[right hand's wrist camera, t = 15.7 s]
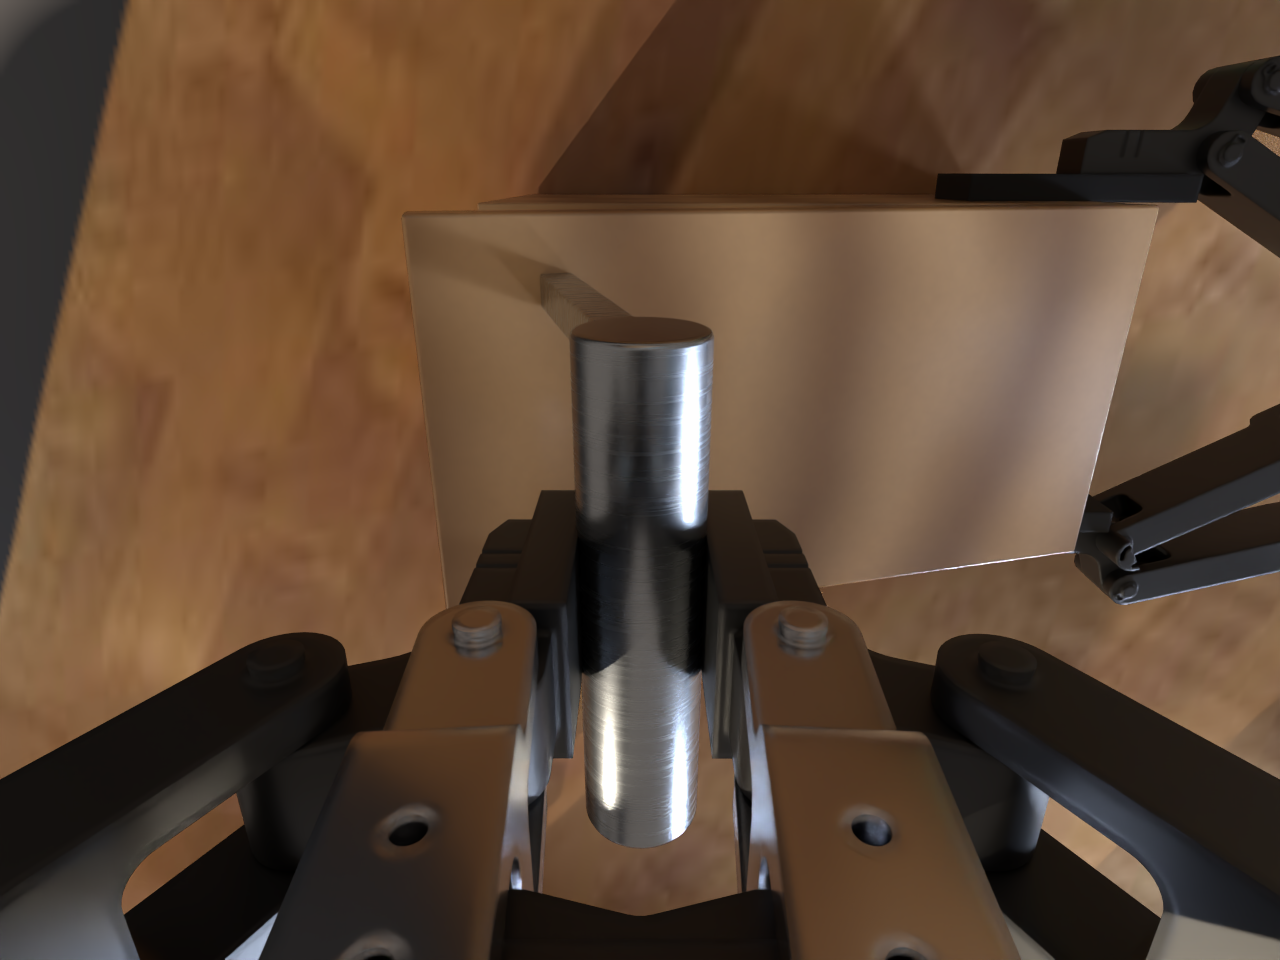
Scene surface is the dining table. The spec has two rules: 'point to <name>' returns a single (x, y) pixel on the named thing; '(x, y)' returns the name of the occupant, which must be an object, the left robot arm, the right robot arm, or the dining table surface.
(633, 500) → the lid
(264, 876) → the right robot arm
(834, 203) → the chest
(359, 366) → the dining table surface
